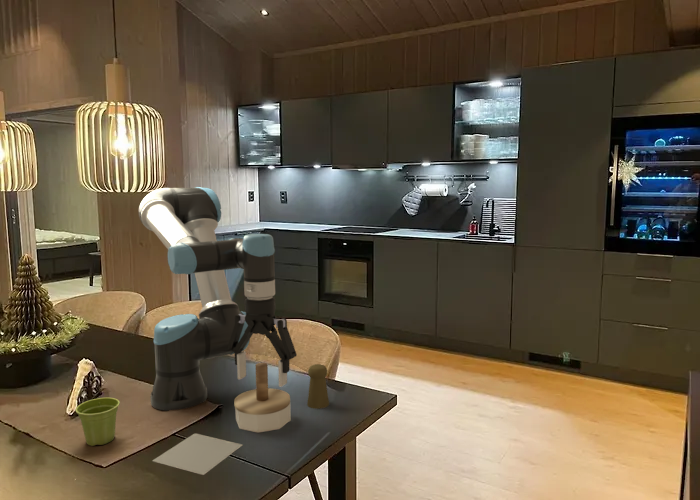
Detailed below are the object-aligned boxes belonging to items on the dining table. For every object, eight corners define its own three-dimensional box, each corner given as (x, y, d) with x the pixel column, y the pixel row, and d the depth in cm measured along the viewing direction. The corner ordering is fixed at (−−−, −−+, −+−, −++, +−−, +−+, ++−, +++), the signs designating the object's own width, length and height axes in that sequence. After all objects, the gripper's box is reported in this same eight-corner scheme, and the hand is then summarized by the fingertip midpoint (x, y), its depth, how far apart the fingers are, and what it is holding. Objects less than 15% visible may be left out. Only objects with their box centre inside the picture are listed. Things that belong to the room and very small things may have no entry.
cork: (326, 409, 145) (325, 370, 143) (304, 407, 146) (303, 368, 144) (331, 400, 150) (331, 362, 149) (310, 398, 152) (310, 361, 150)
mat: (152, 463, 118) (151, 460, 118) (194, 435, 131) (194, 433, 130) (203, 477, 112) (203, 474, 112) (243, 446, 125) (243, 444, 125)
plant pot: (93, 454, 122) (91, 417, 121) (69, 443, 127) (67, 408, 126) (130, 437, 130) (127, 402, 129) (106, 427, 135) (103, 394, 134)
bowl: (226, 427, 135) (225, 408, 134) (256, 407, 146) (255, 389, 146) (271, 437, 129) (270, 417, 129) (298, 415, 141) (297, 397, 140)
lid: (222, 408, 134) (221, 369, 132) (255, 388, 146) (254, 353, 145) (271, 418, 128) (270, 378, 127) (300, 396, 141) (299, 359, 139)
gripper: (211, 295, 135) (214, 379, 138) (294, 304, 125) (295, 394, 128) (229, 289, 142) (232, 369, 145) (309, 297, 132) (310, 383, 135)
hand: (262, 381), depth 136 cm, fingers open, 11 cm apart
